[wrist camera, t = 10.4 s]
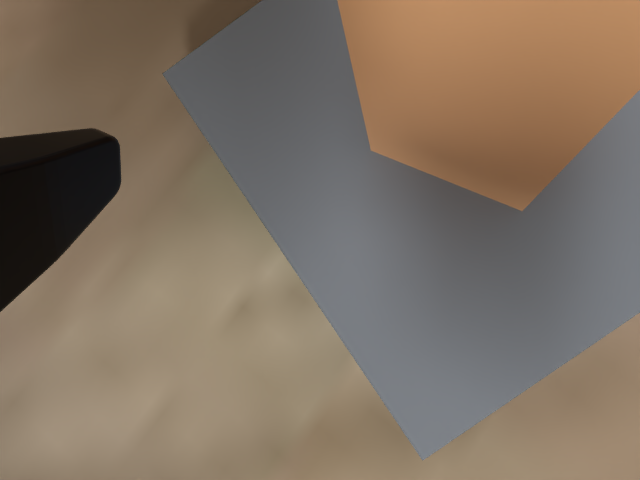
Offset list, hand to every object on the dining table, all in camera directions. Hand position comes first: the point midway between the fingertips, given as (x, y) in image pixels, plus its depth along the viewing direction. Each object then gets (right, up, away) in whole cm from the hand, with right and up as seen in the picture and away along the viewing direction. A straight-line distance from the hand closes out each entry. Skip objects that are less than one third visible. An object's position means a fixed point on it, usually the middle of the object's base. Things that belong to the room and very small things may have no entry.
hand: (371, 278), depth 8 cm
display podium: (+4, +4, +11) cm, 12 cm away
